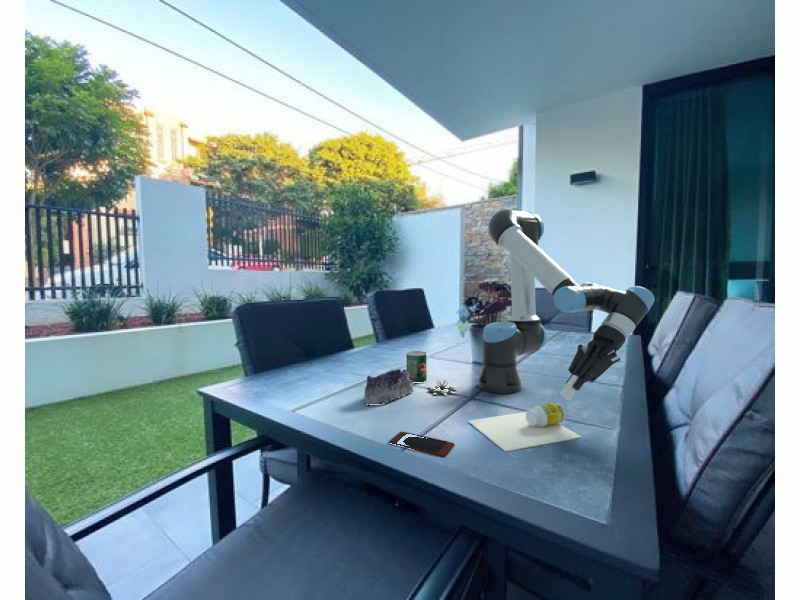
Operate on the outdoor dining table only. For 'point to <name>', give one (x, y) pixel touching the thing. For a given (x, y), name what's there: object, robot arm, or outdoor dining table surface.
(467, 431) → the outdoor dining table surface
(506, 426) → the mat
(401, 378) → the geode
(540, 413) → the supplement bottle
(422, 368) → the canned tomato
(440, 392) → the lily flower
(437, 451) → the smartphone
